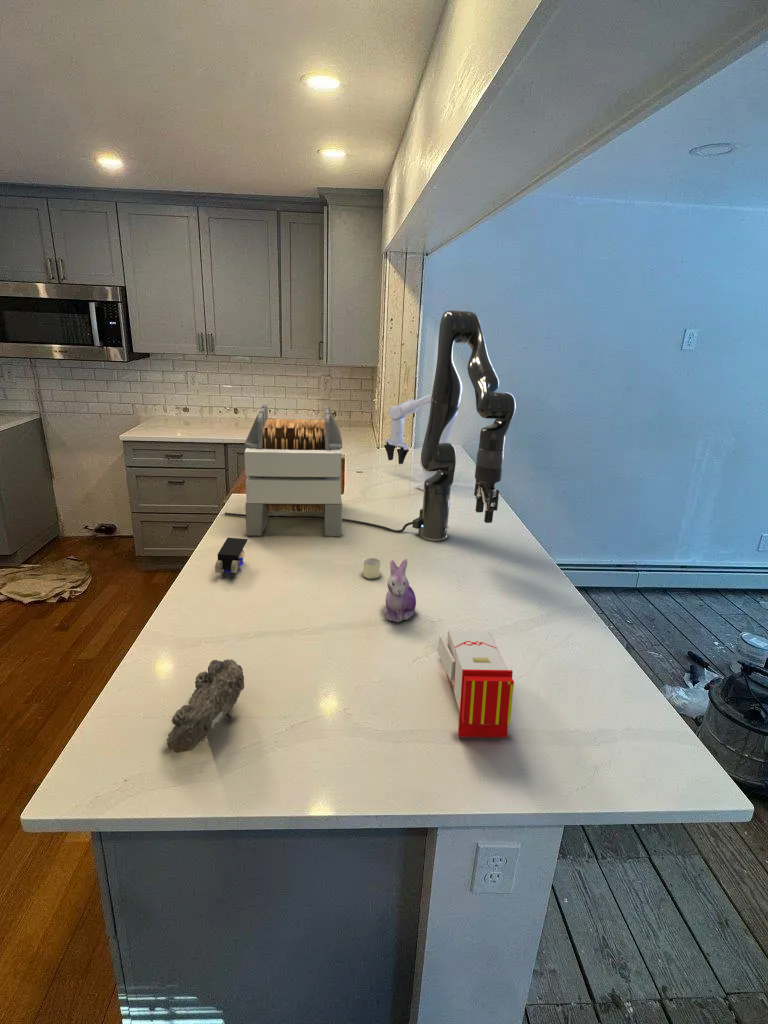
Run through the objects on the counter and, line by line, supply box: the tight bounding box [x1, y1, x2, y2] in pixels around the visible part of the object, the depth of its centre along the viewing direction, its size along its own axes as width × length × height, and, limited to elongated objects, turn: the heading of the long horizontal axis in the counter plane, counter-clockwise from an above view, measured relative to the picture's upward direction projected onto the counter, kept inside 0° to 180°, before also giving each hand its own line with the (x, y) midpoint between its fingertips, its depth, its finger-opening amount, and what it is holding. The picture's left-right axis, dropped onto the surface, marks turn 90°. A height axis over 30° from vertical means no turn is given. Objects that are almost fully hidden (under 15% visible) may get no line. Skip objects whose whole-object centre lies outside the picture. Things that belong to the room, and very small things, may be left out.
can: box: [363, 557, 381, 580], centre depth 167 cm, size 5×5×4 cm
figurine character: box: [214, 537, 248, 578], centre depth 166 cm, size 7×8×15 cm
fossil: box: [166, 658, 245, 754], centre depth 106 cm, size 22×10×15 cm
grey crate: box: [244, 404, 343, 537], centre depth 202 cm, size 34×33×41 cm
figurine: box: [384, 558, 417, 623], centre depth 145 cm, size 9×10×15 cm
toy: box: [437, 628, 515, 738], centre depth 117 cm, size 12×13×30 cm
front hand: (483, 517), depth 166 cm, fingers open, 8 cm apart
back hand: (395, 461), depth 259 cm, fingers open, 7 cm apart
